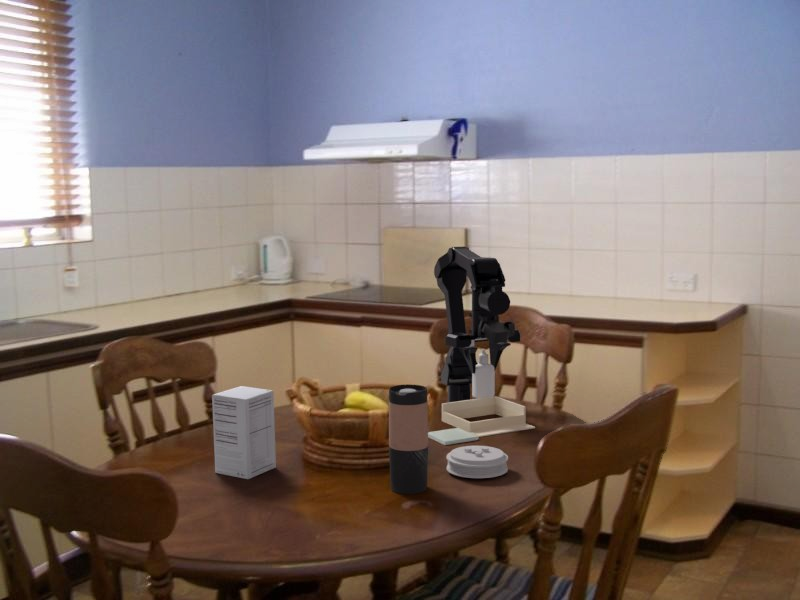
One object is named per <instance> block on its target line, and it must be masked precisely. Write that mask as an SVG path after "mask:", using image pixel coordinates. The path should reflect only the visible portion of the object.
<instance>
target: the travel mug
mask: <svg viewBox="0 0 800 600" xmlns="http://www.w3.org/2000/svg"><path fill="white" fill-rule="evenodd" d="M428 404H429V403H428V387H426V386H424V385H420V384H396V385H392V386H390V387H389V388H388V451H389V452H388V453H389V474H390V475H389V476H390V477H389V478H390V480H389V481H390V489H391V491H393V492H394V493H397V494H401V495H416V494H421V493H424V492H425V491H427V488H428V473H429V472H428V470H429V469H428V468H429V467H428V464H429V463H428V462H429V437H428V432H429V416H428V415H429V411H428V410H429V408H428Z"/></svg>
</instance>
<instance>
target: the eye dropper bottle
mask: <svg viewBox="0 0 800 600" xmlns="http://www.w3.org/2000/svg"><path fill="white" fill-rule="evenodd" d="M495 372H496V371H494V366H493V365H491V364H490V363H489V354H487V353H486V349H485V348H482V349H481V352H480V353H479V354H478V364H477V365H476V370H475V374H473V373H472V384H471V386H472V387H471V395H472V398H473V399H483V398H490V397H493V396H495V393H496V392H495V388H496V387H495V383H496V382H495V380H496V379H495V376H496V375H495Z"/></svg>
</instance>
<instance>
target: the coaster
mask: <svg viewBox="0 0 800 600" xmlns="http://www.w3.org/2000/svg"><path fill="white" fill-rule="evenodd" d="M428 439H431V440H433V441H436V443H439V444H441V445H444V446H449V445H454V444H459V443H460V444H461V443H466V442H468V443H469V442H473V441H478V440H479V437H478V436H476V435H474V434H471V433H469V432H467V431H464V430H462V429H460V428H457V427H454V428H447V429H441V430H434V431H428Z"/></svg>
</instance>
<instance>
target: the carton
mask: <svg viewBox="0 0 800 600" xmlns="http://www.w3.org/2000/svg"><path fill="white" fill-rule="evenodd" d="M526 411H527V410H526V406H525V405H523V404H519V403H516V402H514V401H512V400H508V399H504V398H502V397H499V396H497V395H494V396H493V397H490V398H483V399H477V398H472V399H471V398H470V400H464V401H457V402H449V403H445V402H442V403H441V422H443V423H445V424H448V425H451V427H454V428H460V429H462V430H464V431H467V432H469V433H471V434H474V435H476V436H478V438H483V437H488V436H493V435H500V434H508V433H513V432H520V431H525V430H532V429H536V426H534V425H532V424H529V423H526V422H527V418H526V417H527V413H526ZM490 415H496V416H499V417H496V418H489V419H482V420H477V421H476V420H475V421H469V420H467V419H470V418H478V417H484V416H490Z"/></svg>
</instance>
